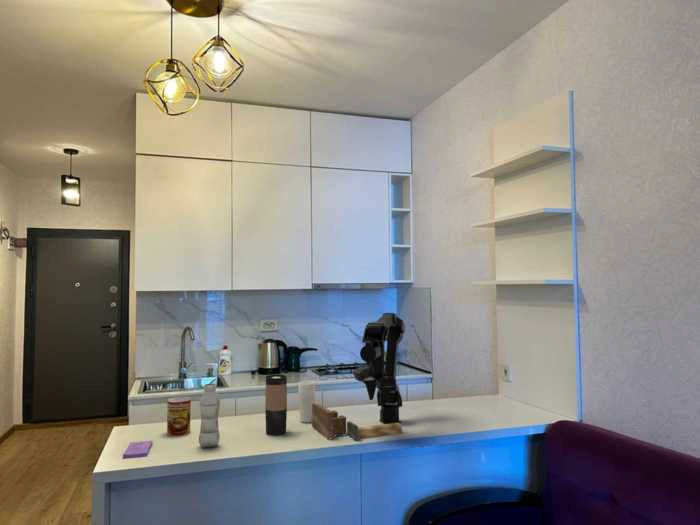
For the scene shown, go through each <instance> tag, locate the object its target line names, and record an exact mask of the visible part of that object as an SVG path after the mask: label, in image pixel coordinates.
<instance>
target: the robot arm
mask: <svg viewBox="0 0 700 525" xmlns="http://www.w3.org/2000/svg"><path fill="white" fill-rule="evenodd" d="M364 327H365V328H364V332H363V336H362V340H361V341H362V343H364V344H365V345H363V347H361V349H360V352H359V355H360V358H361V360H362V361H364V362H365V364H364V366H361V367H359V368H355V369H354V370H352V373H353V376H354V379H355V381H358V382H362V383H363V384H364V385H365V388H366V391H367V394H368V395H367V396H368V398H369V401H373V400H374V397H375V394H376V400H377V406H378V407H380V410H379V422H381V423H383V424H390V423H400V424H401V423H402V421H401V420H400V408H401V407H403V398H402V394H401V391H400V387H399V384H398V383H397V368H398V355H399V344H400V343H401V342H402V341H403V339H404V334H405V333H406V325H405V323H404V320H403V319H401V318H400V317H399V316H398V315H397V313H394V312H385V313H382V315H381V316H380V317H379V318H378V319H377V320H376V321H370V322H369V321H368V323H367V324H366V325H365V326H364ZM385 343H386V346H385ZM385 348H386V349H385ZM385 350H386V353H385ZM376 389H377V391H376Z"/></svg>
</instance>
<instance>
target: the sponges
mask: <svg viewBox="0 0 700 525" xmlns="http://www.w3.org/2000/svg"><path fill="white" fill-rule="evenodd" d="M153 444H154V443H153V440H144V441H132V442H129V444H128V446H127V448H126V449H125V451H124V453H123V454H122V459H135V458H145V457H148V455H149V454H150V451H151V449H152V447H153Z"/></svg>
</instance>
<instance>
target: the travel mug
mask: <svg viewBox="0 0 700 525" xmlns="http://www.w3.org/2000/svg"><path fill="white" fill-rule="evenodd" d="M287 380H288V378H287V375H286V374H268V375H266V376H265V406H264V408H265V410H264V411H265V434H266V435H268V436H275V437H277V435H278V436H281V435H282V436H283V435H285V434H286V433H287V416H288V415H287V412H288V399H287V398H288V384H287Z"/></svg>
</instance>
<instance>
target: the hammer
mask: <svg viewBox="0 0 700 525" xmlns="http://www.w3.org/2000/svg"><path fill="white" fill-rule="evenodd" d="M402 428H403V425H402V424H401V423H390V424H385V423H383V424H375V425H374V424H373V425H368V426H359V425H357V424H355V423H354V422H352V421H350V420H348V421H346V436H347V435H348V436H349V437H350V438H349V437H348V436H347V437H348V438H349V439H351V438H352V439H353V440H352V439H351V440H352V441H354V442H357V441H356V440H358V441H359V439H358V438H361V439H366V437H368V438H374V436H375V437H383V436H390V435H395V434H396V435H397V434H402V433H403V430H402Z"/></svg>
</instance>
